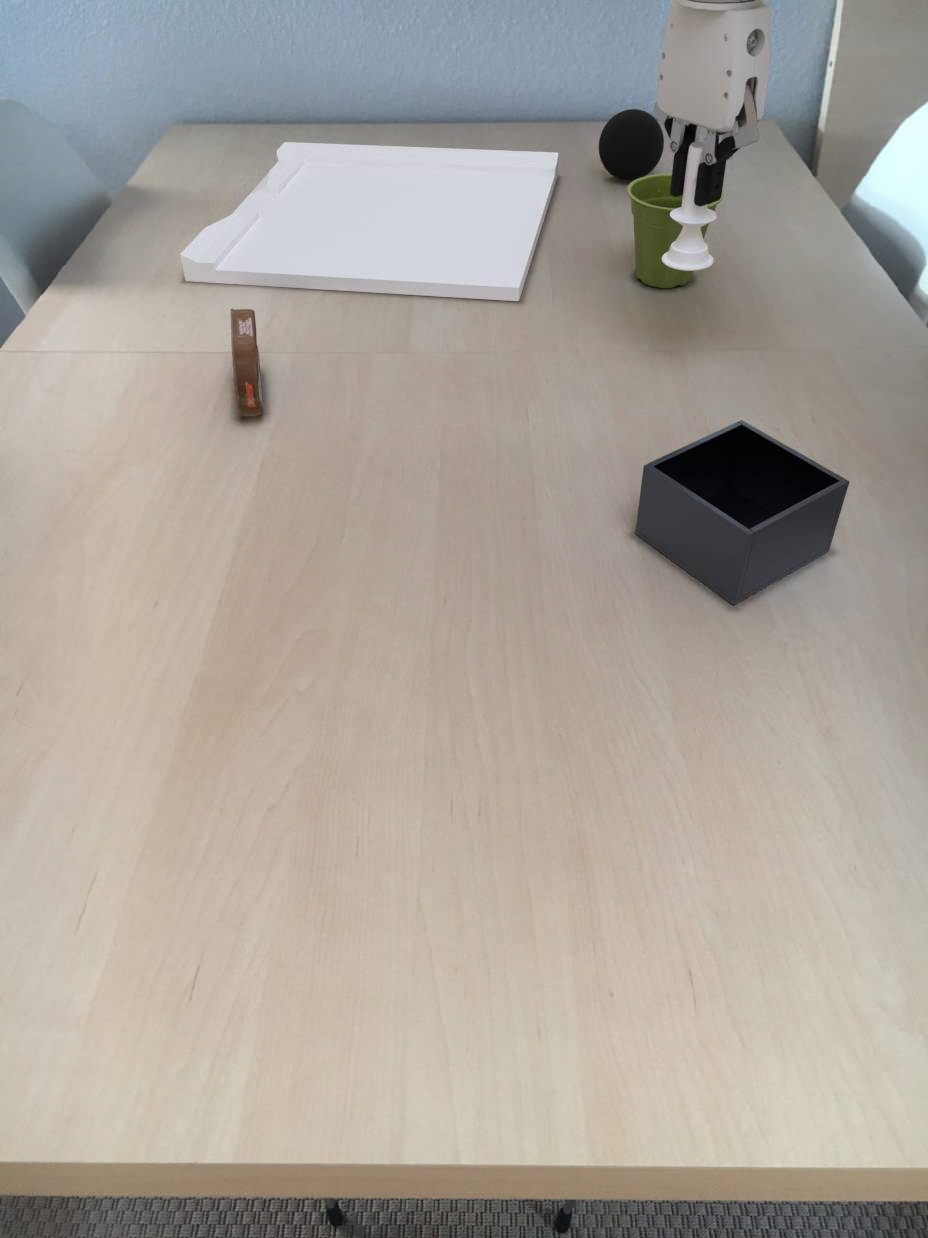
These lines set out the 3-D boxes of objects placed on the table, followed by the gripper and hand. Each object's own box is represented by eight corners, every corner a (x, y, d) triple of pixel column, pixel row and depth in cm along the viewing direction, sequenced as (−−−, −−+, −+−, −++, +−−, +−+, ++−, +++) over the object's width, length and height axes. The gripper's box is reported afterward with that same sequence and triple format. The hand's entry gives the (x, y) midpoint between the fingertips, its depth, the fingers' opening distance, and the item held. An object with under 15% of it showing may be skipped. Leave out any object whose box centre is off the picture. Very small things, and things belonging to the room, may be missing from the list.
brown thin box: (237, 364, 116) (224, 295, 110) (264, 361, 116) (253, 292, 110) (240, 432, 105) (225, 360, 99) (270, 429, 105) (257, 357, 99)
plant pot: (626, 299, 126) (635, 209, 118) (612, 260, 134) (620, 174, 127) (718, 296, 126) (733, 206, 118) (699, 257, 135) (712, 171, 127)
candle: (692, 246, 106) (707, 126, 98) (724, 264, 102) (743, 140, 94) (651, 257, 104) (663, 135, 96) (682, 275, 101) (697, 150, 92)
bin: (728, 487, 96) (741, 419, 91) (829, 551, 89) (850, 481, 83) (634, 534, 91) (643, 465, 86) (733, 606, 83) (749, 535, 78)
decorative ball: (588, 185, 155) (592, 116, 148) (606, 164, 162) (611, 97, 155) (650, 193, 152) (658, 123, 145) (666, 171, 159) (674, 103, 152)
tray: (518, 301, 126) (519, 273, 123) (185, 280, 132) (179, 254, 130) (557, 176, 158) (558, 152, 156) (288, 164, 165) (284, 141, 162)
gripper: (824, -11, 83) (783, 212, 95) (686, -36, 93) (665, 168, 105) (762, 3, 80) (728, 231, 92) (627, -25, 90) (612, 184, 102)
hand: (695, 196), depth 99 cm, fingers closed on candle, 2 cm apart
